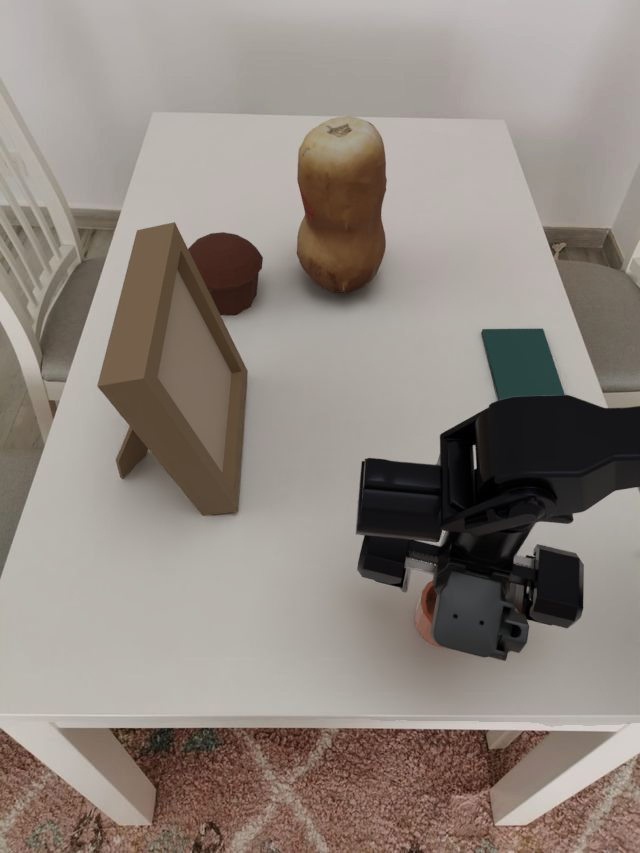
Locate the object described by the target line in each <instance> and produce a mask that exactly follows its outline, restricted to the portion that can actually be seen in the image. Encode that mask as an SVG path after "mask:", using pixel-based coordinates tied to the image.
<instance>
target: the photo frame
mask: <svg viewBox="0 0 640 853" xmlns="http://www.w3.org/2000/svg"><path fill="white" fill-rule="evenodd" d="M188 248H189V247H188V246H187V244H186V241H185V240H184V238H183V235H182V234H181V231H180V230H179V227H178V225H177V223H176V222H175V221H174V222H173V221H172V222H169V223H165V224H159V225H154V226H150V227H146V228H140V229H136V233H135V237H134V240H133V244H132V248H131V252H130V256H129V260H128V264H127V268H126V272H125V276H124V279H123V284H122V287H121V291H120V295H119V299H118V303H117V307H116V310H115V314H114V318H113V322H112V327H111V329H110V330H111V331H110V334H109V338H108V342H107V345H106V346H107V347H106V351H105V354H104V357H103V362H102V365H101V369H100V374H99V378H98V382H97V385H96V386H97V388H98V389H99V390H100V391H101V393H102V394H103V395H104V396H105V398H106V399H107V400H108V401H109V403H110V404H111V405H112V407H113V408H114V409H115V410H116V411H117V413H119V415H120V416H121V417H122V419H123V420H124V421H125V422H126V423H127V424H128V426H129V427H128V430H127V432H126V434H125V437H124V439H123V442H122V444H121V447H120V449H119V451H118V453H117V456H116V458H115V463H116V467H117V471H118V474H119V478H120V479H122V480H124V479H125V478H126V477H127V476H128V475H129V474H130V472H131V471H133V470H134V468H136V467H137V465H138V464H140V462H141V461H142V460H143V459H144V458H146V456H147V455H148V452H150V453H151V454H152V456H153V457H154V459H156V460H157V461H158V463H159V465H160V466H162V467H163V469H164V470H165V471H166V473H167V474H168V475H169V476H170V478H171V479H172V480H173V481H174V482H175V483H176V485H177V486H178V487H179V488H180V490H181V491H182V492H183V493H184V495H185V496H186V497H187V499H188V500H189V501H190V502H191V503H192V505H193V506H194V507H195V508H196V510H197V511H198V512H199V513H200V514H201V515H202V517H203V516H213V515H219V514H220V515H221V514H226V513H228V514H229V513H236V512H238V511H239V501H240V500H239V499H240V486H241V470H242V456H243V445H244V442H243V441H244V431H245V430H244V428H245V414H246V402H247V401H246V399H247V388H248V387H247V386H248V385H247V384H248V372H249V370H248V369H247V366H246V365H245V362H244V360H243V359H242V357H241V354H240V353H239V350H238V349H237V345H236V344H235V342H234V340H233V338H232V336H231V334H230V332H229V330H228V327H227V325H226V324H225V321H224V320H223V317H222V316H221V315H220V313H219V311H218V309H217V307H216V305H215V303H214V301H213V299H212V297H211V295H210V293H209V291H208V289H207V287H206V285H205V283H204V281H203V279H202V277H201V275H200V273H199V270H198V268H197V266H196V264H195V262H194V260H193V258H192V256H191V254H190V252H189V250H188Z"/></svg>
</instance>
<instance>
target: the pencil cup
mask: <svg viewBox="0 0 640 853" xmlns="http://www.w3.org/2000/svg"><path fill="white" fill-rule="evenodd" d="M432 583H433V579H432V580H430V581H429V582H428V583H427V584H426V585H425V587H424V588H423V590H422V592H421V594H420V596H419V599H418V602H417V604H416V607H415V610H414V616H413V617H414V618H413V620H414V624H415V628H416V630H417V633H419V635H420V636H421V638H422V639H424V640H425V641H426V642H427V643H429V644H431V645H432V646H436V647H439V648H443V647H442V646H440V645H438V644H437V643H435V642H434V641H433V640H432V638H431V635H430V629H431V624H432V619H433V614H434V609H435V604H436V598H437V593H436V592H435V590H434V589H435V585H432Z"/></svg>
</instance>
